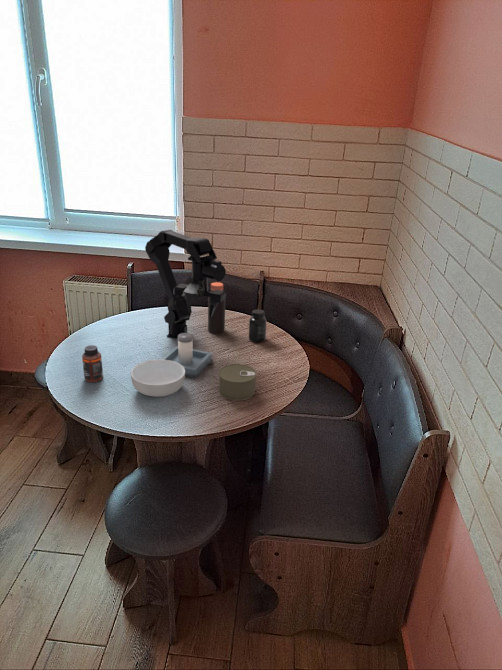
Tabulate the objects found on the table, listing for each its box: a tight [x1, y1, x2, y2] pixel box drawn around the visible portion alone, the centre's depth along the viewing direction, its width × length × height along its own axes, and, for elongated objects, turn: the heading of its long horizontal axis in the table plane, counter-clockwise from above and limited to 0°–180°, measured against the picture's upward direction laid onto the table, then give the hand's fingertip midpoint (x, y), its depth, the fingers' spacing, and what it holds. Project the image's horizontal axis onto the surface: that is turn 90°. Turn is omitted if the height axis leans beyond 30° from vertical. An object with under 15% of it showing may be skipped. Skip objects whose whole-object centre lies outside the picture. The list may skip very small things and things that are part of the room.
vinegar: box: [207, 281, 226, 335], centre depth 199 cm, size 7×7×20 cm
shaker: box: [177, 332, 194, 366], centre depth 172 cm, size 5×5×10 cm
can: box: [218, 363, 257, 402], centre depth 159 cm, size 12×12×7 cm
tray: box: [161, 345, 213, 379], centre depth 174 cm, size 14×14×3 cm
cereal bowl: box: [130, 358, 186, 398], centre depth 157 cm, size 17×17×7 cm
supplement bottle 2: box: [248, 309, 268, 344], centre depth 195 cm, size 7×7×12 cm
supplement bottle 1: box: [81, 344, 104, 383], centre depth 161 cm, size 6×6×11 cm
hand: (199, 314), depth 184 cm, fingers open, 9 cm apart
